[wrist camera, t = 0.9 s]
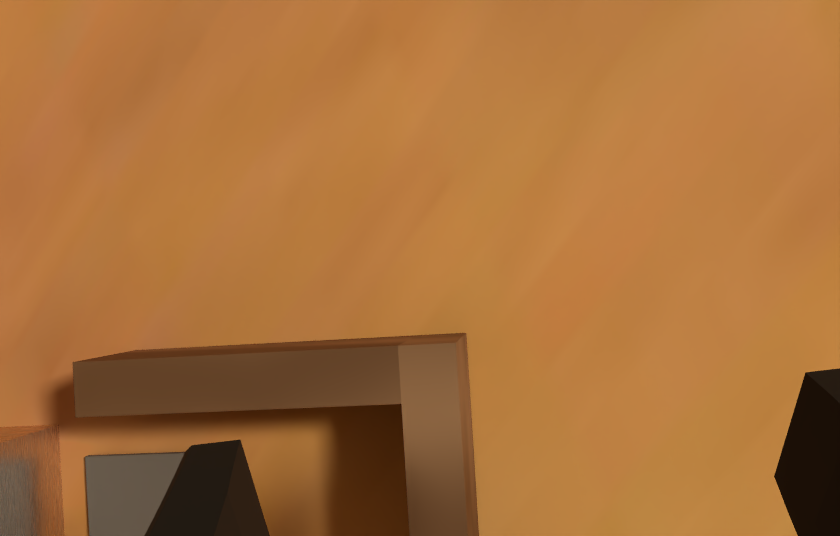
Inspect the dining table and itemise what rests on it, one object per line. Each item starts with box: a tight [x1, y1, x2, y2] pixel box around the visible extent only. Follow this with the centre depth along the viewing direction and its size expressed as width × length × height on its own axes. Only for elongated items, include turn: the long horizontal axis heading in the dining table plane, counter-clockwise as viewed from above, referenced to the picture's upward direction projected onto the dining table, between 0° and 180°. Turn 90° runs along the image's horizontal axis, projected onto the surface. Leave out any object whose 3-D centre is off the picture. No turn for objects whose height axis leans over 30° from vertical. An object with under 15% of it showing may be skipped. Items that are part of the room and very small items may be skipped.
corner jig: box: [73, 333, 479, 536], centre depth 23 cm, size 10×10×4 cm
